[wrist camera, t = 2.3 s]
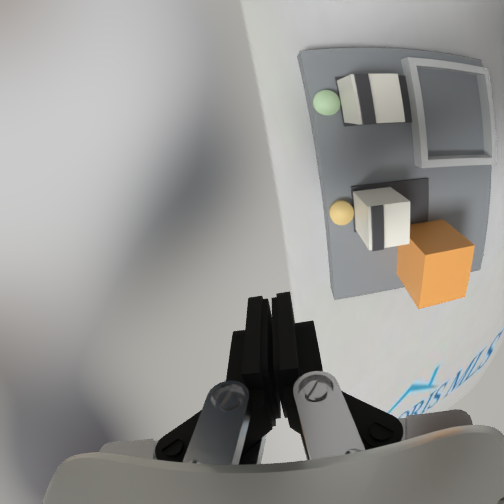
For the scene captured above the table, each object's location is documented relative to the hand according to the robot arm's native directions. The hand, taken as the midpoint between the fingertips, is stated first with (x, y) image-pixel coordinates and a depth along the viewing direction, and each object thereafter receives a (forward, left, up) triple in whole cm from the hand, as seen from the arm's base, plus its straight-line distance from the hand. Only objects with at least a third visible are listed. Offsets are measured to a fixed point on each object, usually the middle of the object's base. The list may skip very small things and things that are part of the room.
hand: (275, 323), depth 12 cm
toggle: (0, -11, -11) cm, 16 cm away
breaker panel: (-8, -10, -13) cm, 18 cm away
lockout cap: (-12, -5, -11) cm, 17 cm away
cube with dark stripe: (-6, -5, -11) cm, 13 cm away
